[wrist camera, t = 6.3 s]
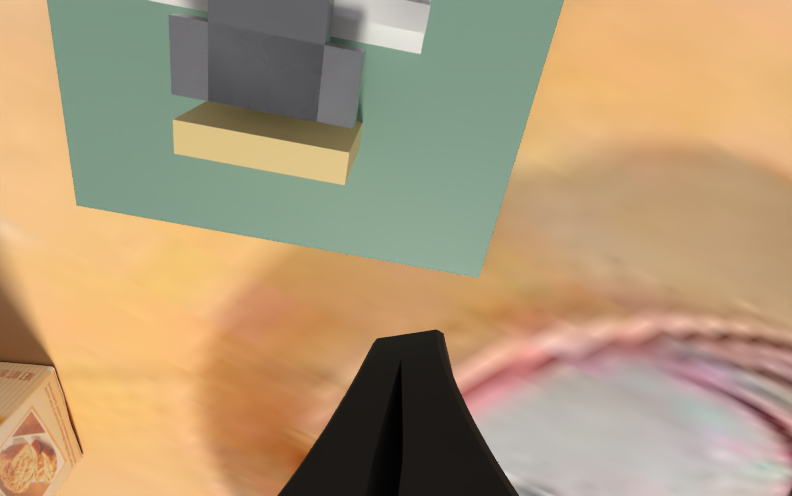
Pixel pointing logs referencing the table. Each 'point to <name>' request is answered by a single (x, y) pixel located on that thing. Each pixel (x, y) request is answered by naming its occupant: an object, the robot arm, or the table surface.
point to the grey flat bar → (267, 59)
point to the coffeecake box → (34, 432)
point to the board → (312, 129)
